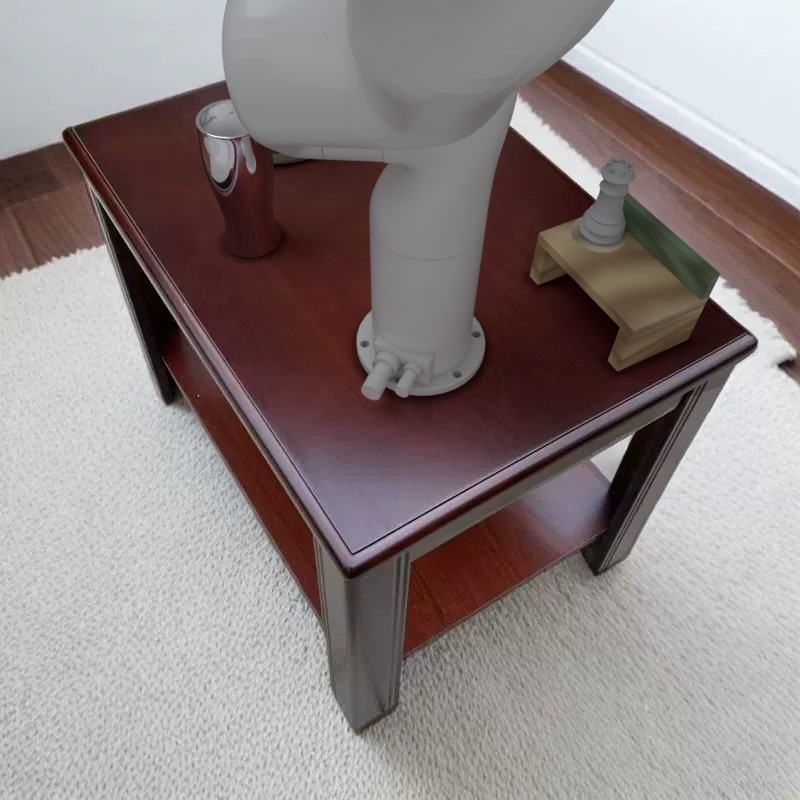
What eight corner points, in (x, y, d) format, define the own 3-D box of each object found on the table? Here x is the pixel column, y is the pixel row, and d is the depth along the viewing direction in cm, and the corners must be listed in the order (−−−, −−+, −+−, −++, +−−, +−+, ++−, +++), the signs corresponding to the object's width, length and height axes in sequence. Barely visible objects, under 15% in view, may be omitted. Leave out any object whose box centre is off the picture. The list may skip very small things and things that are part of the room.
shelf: (688, 339, 73) (720, 273, 66) (617, 372, 71) (643, 306, 64) (596, 250, 81) (616, 182, 74) (529, 276, 79) (543, 208, 71)
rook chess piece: (590, 212, 76) (609, 144, 69) (630, 229, 74) (653, 161, 68) (570, 235, 73) (588, 167, 67) (611, 253, 72) (633, 185, 66)
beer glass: (297, 239, 82) (282, 116, 70) (249, 270, 78) (225, 148, 66) (256, 211, 84) (234, 89, 72) (208, 240, 81) (177, 118, 69)
